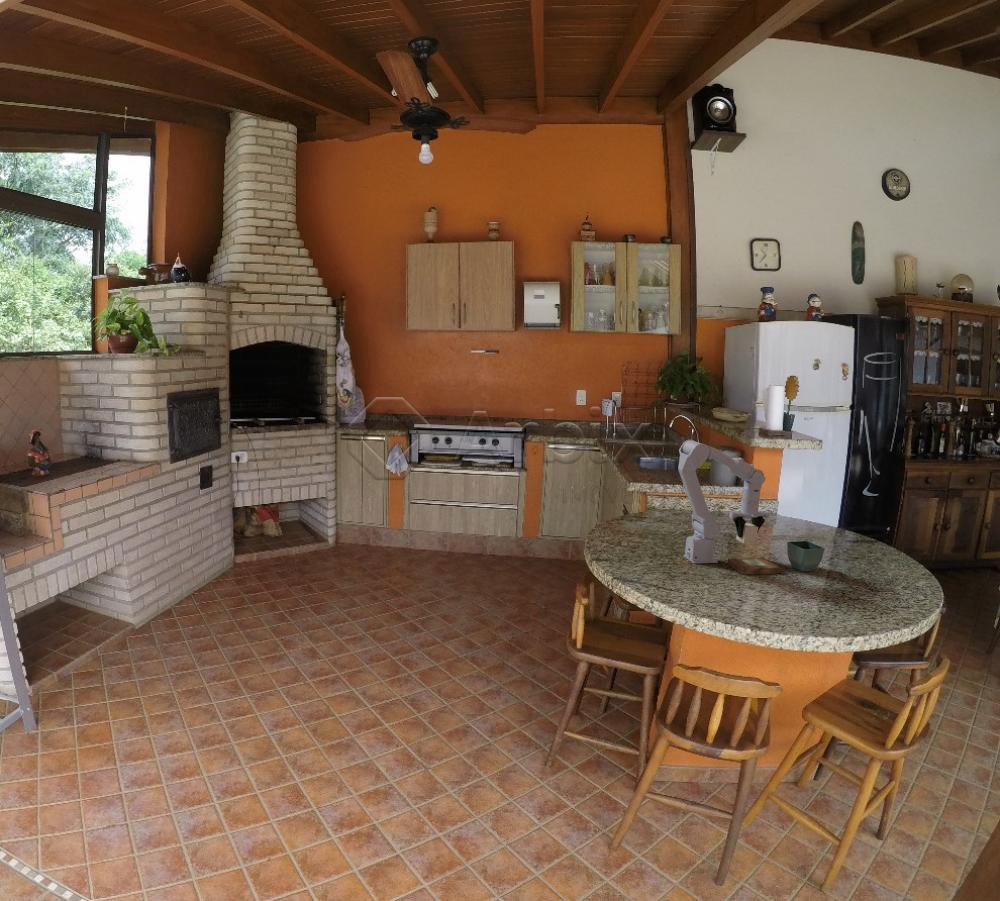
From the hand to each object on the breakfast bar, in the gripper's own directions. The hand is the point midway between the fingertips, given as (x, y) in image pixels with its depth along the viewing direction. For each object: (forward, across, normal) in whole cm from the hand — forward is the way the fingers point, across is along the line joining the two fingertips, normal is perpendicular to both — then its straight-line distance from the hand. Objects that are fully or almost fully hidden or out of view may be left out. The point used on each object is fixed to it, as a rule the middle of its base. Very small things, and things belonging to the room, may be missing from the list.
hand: (746, 536), depth 230 cm
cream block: (+2, 0, 0) cm, 2 cm away
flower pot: (+9, +15, -12) cm, 21 cm away
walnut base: (+8, -3, -10) cm, 13 cm away
